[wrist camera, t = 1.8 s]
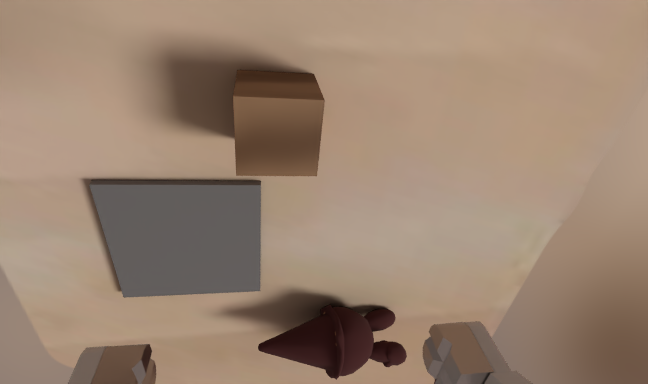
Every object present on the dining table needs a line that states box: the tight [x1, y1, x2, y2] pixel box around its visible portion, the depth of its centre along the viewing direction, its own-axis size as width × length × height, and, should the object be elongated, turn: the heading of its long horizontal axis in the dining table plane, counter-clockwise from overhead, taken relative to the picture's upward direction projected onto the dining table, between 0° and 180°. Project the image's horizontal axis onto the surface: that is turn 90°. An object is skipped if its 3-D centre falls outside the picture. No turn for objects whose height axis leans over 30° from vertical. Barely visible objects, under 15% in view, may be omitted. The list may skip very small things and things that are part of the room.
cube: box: [233, 70, 325, 176], centre depth 23 cm, size 5×5×5 cm
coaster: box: [89, 180, 261, 297], centre depth 30 cm, size 12×12×1 cm
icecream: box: [258, 305, 407, 379], centre depth 36 cm, size 7×7×15 cm
